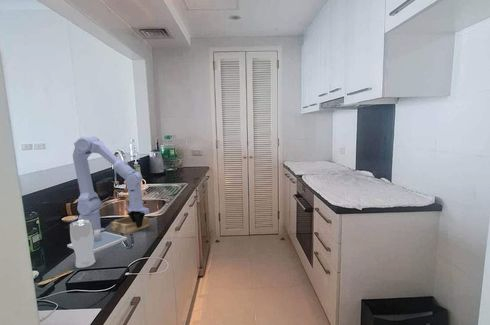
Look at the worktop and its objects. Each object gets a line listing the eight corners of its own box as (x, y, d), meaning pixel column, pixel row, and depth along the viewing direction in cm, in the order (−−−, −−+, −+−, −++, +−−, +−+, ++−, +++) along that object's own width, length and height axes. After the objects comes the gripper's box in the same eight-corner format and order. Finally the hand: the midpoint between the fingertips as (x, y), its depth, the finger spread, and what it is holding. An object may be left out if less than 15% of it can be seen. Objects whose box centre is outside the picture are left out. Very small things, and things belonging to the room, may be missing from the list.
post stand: (67, 247, 110) (65, 234, 109) (104, 233, 123) (103, 221, 123) (90, 254, 102) (88, 240, 101) (127, 239, 115) (126, 226, 115)
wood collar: (111, 230, 127) (110, 222, 127) (133, 222, 138) (132, 214, 137) (128, 234, 121) (127, 225, 121) (149, 225, 132) (148, 217, 131)
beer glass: (101, 260, 96) (97, 219, 95) (84, 270, 90) (79, 226, 88) (86, 258, 99) (82, 218, 97) (69, 267, 92) (63, 225, 91)
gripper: (117, 199, 125) (120, 227, 127) (139, 201, 118) (141, 231, 120) (130, 195, 131) (133, 222, 133) (151, 198, 124) (154, 226, 126)
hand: (138, 226), depth 127 cm, fingers closed on wood collar
